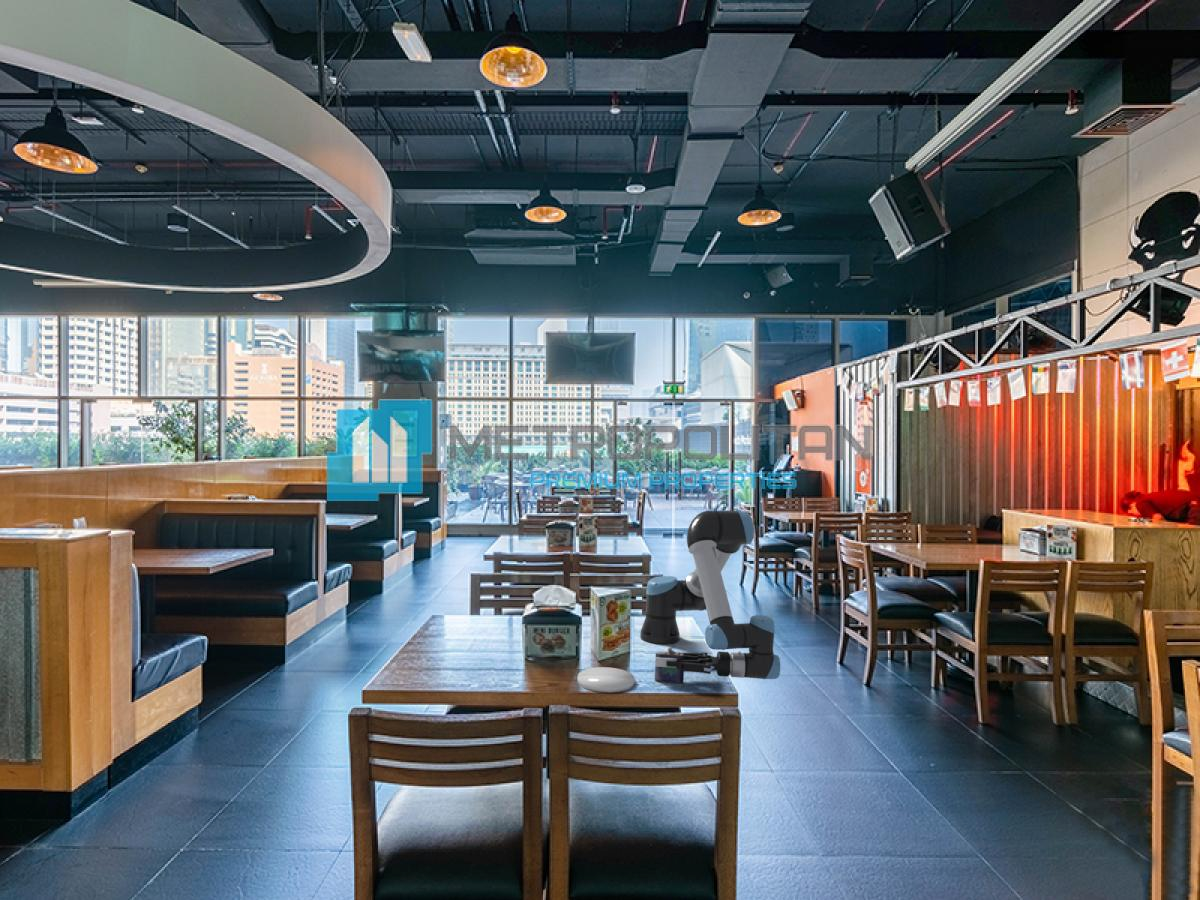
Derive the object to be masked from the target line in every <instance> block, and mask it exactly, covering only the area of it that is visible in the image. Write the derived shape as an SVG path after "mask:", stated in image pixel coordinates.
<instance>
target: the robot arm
mask: <svg viewBox="0 0 1200 900" xmlns="http://www.w3.org/2000/svg"><path fill="white" fill-rule="evenodd" d="M754 537H755V526H754V522H753V518H752V517H751V515H750V513H748V512H747V511H744V510H710V509H709V510H705V511H701V512H700V513H698V514H697V515H696V516H695V517H693V519H692V521H691V522H690V524H689V527H688V529H687V534H686V544H687V549H688V552H689V553H690V554H691V555H692V557H693V561H694V565H695V569H694V571H692V572H689V574H688V575H687V576H686V578H685V580H684V579H683V580H678V578H677V577H675V576H671V575H668V576H666V575H662V576H657V577H652V578H650V579H649V580H648V581H647V585H646V591H645V593H646V594H645V596H646V599H645V618H644V621H643V623H642V626H641V629H640V632H639V633H640V635H639V637H640V639H641V640H643V641H644V642H648V643H651V644H657V645H658V644H659V645H660V644H661V645H667V644H668V645H669V644H675V643H677V642H679V641H680V639H681V636H680V634H681V633H680V630H679V626H678V622H677V619H676V618H677V612H686V611H700V612H701V611H706V612H707V613H706V614H707V616H708V620H709V621H708V622H709V624H710V625H707V626H706V628H705V631H704V635H705V638H704V639H705V643H706V645H707V647H708V648H709V649H711V650H717V652H716V656H712V655H710V654H708V653H707V652H679V651H678V652H679V653H682V654H683V655H684V660H679V657H678V658H677V659H676V658H660V657H656V656H655V660H654V661H656V667H673V668H676V667H677V668H678V669H679V670H680V671H684V672H689V673H690V672H693V673H703V674H707V675H710V674H711V673H712V671H713V672H714V671H716V675H717V676H718V677H731V678H738V679H740V678H750V679H762V680H776V679H778V678H779V677H780V674H781V660H780V657H779V655H777V654H774V643H775V642H774V641H775V620H774V619H773V618H772V617H770V616H767V615H762V614H757V615H752V616H750V619H749V622H747V623H745V622H744V623H735V621H734V618H733V614H732V610H731V606H730V601H729V599H728V595H727V590H726V587H725V583H724V580H723V575H722V571H723V569H724V568H725V566H726V564H727V562H728V561H729V559H730V557H731V555H732V554H733V555H734V554H735V553H737V552H738V551H739V550H740V549H741V547H742V546H743V545H749V544H751V543H752V542H753V540H754ZM732 649H733V650H734V649H735V650H736V649H748V652H747V653H746V652H741V651H740V650H739V651H737V652H729V651H725V650H732ZM718 650H722V651H718Z"/></svg>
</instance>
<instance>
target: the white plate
mask: <svg viewBox="0 0 1200 900" xmlns="http://www.w3.org/2000/svg"><path fill="white" fill-rule="evenodd" d="M577 683H578V685H579V686H580V687H582V688H584V689H586V690H589V691H593V692H598V693H618V692H619V693H621V692H624V691H628V690H630V689H631V688H633V687H634V685H635V675H633V674H632V673H631V672H629V671H627V670H626V669H625V670H624V669H622V668H615V667H608V666H607V667H605V666H602V667H601V666H600V667H599V666H598V667H591V668H587V669H584V670H581V671H580V672H579V673H578V674H577Z"/></svg>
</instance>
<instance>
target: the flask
mask: <svg viewBox="0 0 1200 900" xmlns="http://www.w3.org/2000/svg"><path fill="white" fill-rule="evenodd" d="M682 653H683V652H680V653H679V651H674V650H673V647H672V646H671V647H667V651H656V653H655V658H656V657H660V658H676V659H677V658H678V657H679V660H684V655H683V654H682ZM654 661H655V660H654ZM654 664H655V665H654V681H655V682H656V681H657V682H662V683H676V684H683V683H684V677H685V676H684V675H685V671H680V670H679V669H678V668H677V667H676V668H673V667H656V661H655V663H654Z"/></svg>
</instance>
